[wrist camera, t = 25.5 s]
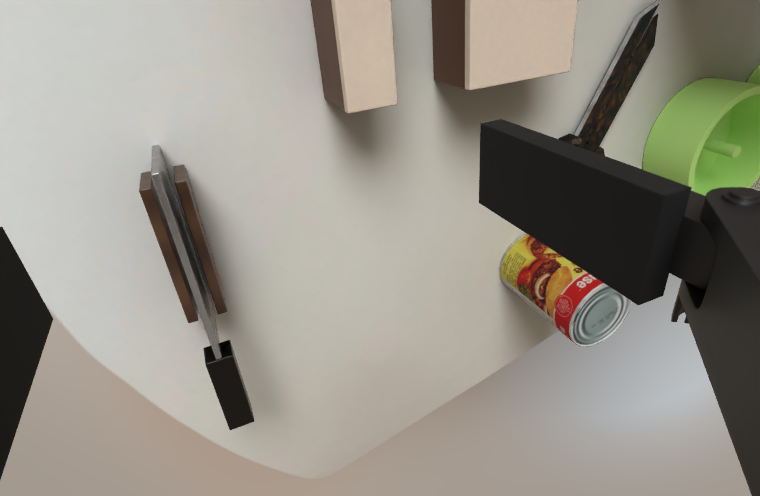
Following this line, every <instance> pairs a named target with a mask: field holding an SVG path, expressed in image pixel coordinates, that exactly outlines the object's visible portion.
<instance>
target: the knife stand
mask: <svg viewBox="0 0 760 496" xmlns="http://www.w3.org/2000/svg"><path fill="white" fill-rule="evenodd" d="M174 179H175V185H176V188H177V191H178V194H179V197H180V200H181V204H182V207H183V210H184V213H185V216H186V219H187V222H188V225H189V228H190V231H191V234H192V237H193V240H194V243H195V246H196V249H197V252H198V255H199V258H200V261H201V264H202V267H203V270H204V274H205V277H206V280H207V283H208V286H209V289H210V292H211V295H212V298H213V301H214V304H215V307H216V310H217V313H218V314H222V313H225V312H227V307H226V303H225V298H224V293H223V289H222V285H221V282H220V279H219V276H218V272H217V269H216V266H215V263H214V260H213V256H212V253H211V250H210V247H209V244H208V240H207V237H206V234H205V231H204V227H203V224H202V221H201V218H200V215H199V211H198V208H197V205H196V202H195V199H194V195H193V192H192V189H191V186H190V183H189V179H188V176H187V173H186V170H185V167H184V165H179V166H174ZM139 192H140V194H141V197H142V200H143V202H144V205H145V208H146V211H147V213H148V216H149V219H150V221H151V224H152V227H153V229H154V232H155V235H156V237H157V240H158V243H159V245H160V248H161V251H162V253H163V256H164V259H165V262H166V264H167V267H168V270H169V272H170V275H171V278H172V280H173V283H174V286H175V288H176V291H177V294H178V296H179V299H180V302H181V304H182V307H183V310H184V312H185V315H186V318H187V321H188V323H191V322H195V321H198V314H197V306H196V302H195V299H194V296H193V293H192V290H191V287H190V285H189V282H188V279H187V276H186V273H185V270H184V268H183V265H182V262H181V259H180V256H179V253H178V251H177V248H176V245H175V242H174V239H173V236H172V234H171V231H170V228H169V225H168V222H167V220H166V217H165V214H164V211H163V208H162V205H161V203H160V200H159V197H158V194H157V191H156V188H155V186H154V183H153V180H152V177H151V171H150V172H145V173H141V179H140V189H139Z"/></svg>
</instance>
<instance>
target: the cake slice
mask: <svg viewBox="0 0 760 496" xmlns="http://www.w3.org/2000/svg"><path fill="white" fill-rule="evenodd" d="M311 6H312V13H313V20H314V27H315V34H316V41H317V48H318V55H319V62H320V69H321V76H322V83H323V90H324V97H325V100H327V101H329V102H330V103H332V104H334V105H335V106H337V107H338V108H340V109H342V110H343V111H345V112H347V113H354V112H360V111H365V110H370V109H375V108H381V107H386V106H391V105H396V104H397V91H396V76H395V61H394V46H393V31H392V16H391V1H390V0H311Z"/></svg>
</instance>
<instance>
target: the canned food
mask: <svg viewBox="0 0 760 496" xmlns="http://www.w3.org/2000/svg"><path fill="white" fill-rule="evenodd" d="M500 277H501V280H502V282H503V283H504V284H505V285H506V286H507V287H508V288H509V289H510V290H511V291H513V292H514V293H515V294H516V295H517V296H519V297H520V298H521V299H522V300H523V301H525V302H526V303H527V304H528V305H529V306H531V307H532V308H533V309H534V310H535V311H537V312H538V313H539V314H540V315H541V316H543V317H544V318H545V319H546V320H547V321H549V322H550V323H551V324H552V325H553V326H555V327H556V328H557V329H558V330H559V331H561V332H562V333H563V334H564V335H565V336H567V337H568V338H569V339H570V340H572V341H573V342H574V343H575V344H577V345H579V346H582V347H589V346H593V345H596V344H598V343H600V342H602V341H604V340H605V339H607V338H608V337H610V336H611V335H612V334H613V333H614V332H615V331H616V330H617V329H618V328H619V327H620V325H621V324H622V323H623V321H624V320H625V318H626V316H627V315H628V313H629V310H630V307H631V303H632V301H631V300H629V299H628V298H626V297H625V296H623V295H622V294H620V293H618V292H617V291H615V290H614V289H612V288H611V287H609V286H608V285H606V284H604V283H603V282H601V281H600V280H598V279H597V278H595V277H594V276H592V275H591V274H589V273H587V272H586V271H584V270H583V269H581V268H580V267H578V266H577V265H575V264H573V263H572V262H570V261H569V260H567V259H566V258H564V257H563V256H561V255H559V254H558V253H556V252H555V251H553V250H552V249H550V248H549V247H547V246H546V245H544V244H542V243H541V242H539V241H538V240H536V239H535V238H533V237H532V236H530V235H528V234H525V235H523V236H521V237H520V238H518V239H517V240H516V241H514V242H513V243H512V244H511V245H510V247H509V248H508V249H507V251H506V252H505V254H504V256H503V258H502V260H501V265H500Z"/></svg>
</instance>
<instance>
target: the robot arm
mask: <svg viewBox="0 0 760 496" xmlns="http://www.w3.org/2000/svg"><path fill="white" fill-rule="evenodd" d="M691 188H692V187H689V186H687V185H684V184H681V183H678V182H675V181H673V180H670V179H667V178H664V177H661V176H659V175H656V174H653V173H650V172H647V171H645V170H642V169H639V168H636V167H633V166H631V165H628V164H625V163H622V162H620V161H617V160H614V159H611V158H608V157H606V156H603V155H600V154H597V153H594V152H592V151H589V150H586V149H583V148H580V147H578V146H575V145H572V144H569V143H566V142H564V141H561V140H558V139H555V138H553V137H550V136H547V135H544V134H541V133H539V132H536V131H533V130H530V129H527V128H525V127H522V126H519V125H516V124H513V123H511V122H508V121H505V120H502V119H499V120H495V121H490V122H485V123H481V132H480V180H479V203H480V204H482V205H483V206H485V207H487V208H488V209H490V210H491V211H493V212H494V213H496V214H497V215H499V216H500V217H502V218H504V219H505V220H507V221H508V222H510V223H511V224H513V225H514V226H516V227H518V228H519V229H521V230H522V231H524V232H525V233H527V234H528V235H530V236H532V237H533V238H535V239H536V240H538V241H539V242H541V243H542V244H544V245H546V246H547V247H549V248H550V249H552V250H553V251H555V252H556V253H558V254H559V255H561V256H563V257H564V258H566V259H567V260H569V261H570V262H572V263H573V264H575V265H577V266H578V267H580V268H581V269H583V270H584V271H586V272H587V273H589V274H591V275H592V276H594V277H595V278H597V279H598V280H600V281H601V282H603V283H604V284H606V285H608V286H609V287H611V288H612V289H614V290H615V291H617V292H618V293H620V294H622V295H623V296H625V297H626V298H628V299H629V300H631V301H632V302H634V303H636V304H637V305H640V304H643V303H645V302H648V301H651V300H653V299H656V298H658V297H660V296H663V293H664V290H665V286H666V282H667V278H668V275H669V273H671V274H673V275H675V276H677V277H678V278H680V279H682V281H681V285H680V288H679V292H678V295H677V299H676V302H675V306H674V309H673V313H672V319H671V321H672V322H677V320H678V316H679V315H680V314H682V313H684V312H685V314H686V319H685V323H689V324H690V327H691V330H692V333H693V335H694V338H695V341H696V344H697V346H698V349H699V352H700V355H701V357H702V360H703V363H704V366H705V368H706V371H707V374H708V377H709V379H710V382H711V385H712V387H713V390H714V393H715V396H716V399H717V401H718V404H719V407H720V409H721V412H722V415H723V418H724V420H725V423H726V426H727V428H728V431H729V434H730V437H731V439H732V442H733V445H734V448H735V451H736V453H737V456H738V459H739V461H740V464H741V467H742V470H743V473H744V475H745V478H746V481H747V484H748V486H749V489H750V492H751V494H752V496H760V191H757V190H754V189H751V188H745V187H721V188H716V189H712V190H710V191H709V192H707V193H706V196H705V195H702V194H699V193H696V192H694V191H691ZM52 321H53V318H52V316H51V314H50V312H49V310H48V309H47V307H46V305H45V303H44V301H43V300H42V298H41V296H40V294H39V292H38V291H37V289H36V287H35V285H34V283H33V281H32V280H31V278H30V276H29V274H28V272H27V271H26V269H25V267H24V265H23V263H22V262H21V260H20V258H19V256H18V254H17V253H16V251H15V249H14V247H13V245H12V244H11V242H10V240H9V238H8V236H7V235H6V233H5V231H4V229H3V227H0V479H1V476H2V473H3V470H4V467H5V464H6V461H7V458H8V455H9V452H10V449H11V446H12V442H13V440H14V437H15V433H16V430H17V427H18V424H19V421H20V418H21V415H22V412H23V409H24V406H25V403H26V400H27V397H28V394H29V391H30V388H31V385H32V382H33V379H34V376H35V373H36V369H37V366H38V364H39V361H40V358H41V354H42V351H43V348H44V345H45V342H46V339H47V336H48V333H49V330H50V327H51V324H52Z"/></svg>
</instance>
